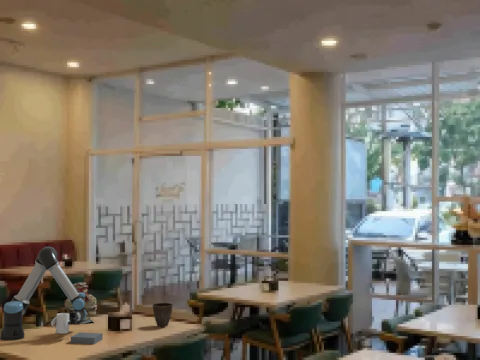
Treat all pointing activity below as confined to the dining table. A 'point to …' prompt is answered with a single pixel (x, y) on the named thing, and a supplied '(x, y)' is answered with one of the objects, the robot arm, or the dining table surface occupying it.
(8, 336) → the robot arm
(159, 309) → the plant pot
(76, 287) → the rose bouquet
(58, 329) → the mug
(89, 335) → the base block
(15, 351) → the dining table surface
